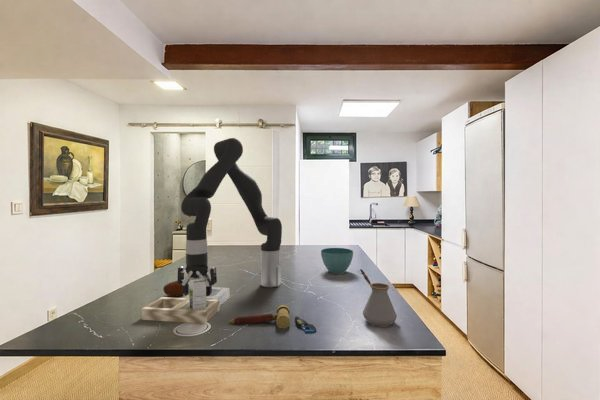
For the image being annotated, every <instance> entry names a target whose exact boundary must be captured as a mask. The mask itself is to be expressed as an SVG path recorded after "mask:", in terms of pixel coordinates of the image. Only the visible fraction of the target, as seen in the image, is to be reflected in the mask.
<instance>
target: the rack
mask: <svg viewBox="0 0 600 400" xmlns="http://www.w3.org/2000/svg"><path fill="white" fill-rule="evenodd" d="M140 310H141V312H140V313H141V321H142V320H143V321H158V322H173V323H174V322H175V323H189V324H202V325H203V324H205V325H206V324H207V323H208V322H209V321H210V320H211V319H212V318H213V317H214V316H215V315H216V314H217V313H218V312H220V306H219V300H211V299H206V308H205V309H204V310H189V298H186V297H172V296H170V297H168V296H166V297H165V296H161V297H159V298H157V299H156V300H154V301H152V302H151V303H148V304H147V305H145V306H143V307H142V308H141V309H140Z"/></svg>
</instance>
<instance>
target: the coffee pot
mask: <svg viewBox="0 0 600 400" xmlns="http://www.w3.org/2000/svg"><path fill="white" fill-rule="evenodd" d="M357 273H358V274H359V275H360V274H361V275H363V278H364V280H365V282H367V284H368V285H369V287H370V288H371V293H370V294H369V298H368V300H367V302H366V303H365V307H364V309H363V310H362V315H363V318H364V319H365V320H366V322H368V323H369V324H370V325H372V326H374V327H378V328H386V327H390V326H391V325H392V324H393V323H394V322H395V321H397V320H396V319H397V317H398V316H397V313H396V310H395V308H394V306H393V303H392V301H391V298H390V296H389V293H388V290H389V289H390V285H389V284H386V283H381V282H373V283H372V282H371V280H370V279H369V277H368V276H367V274H366V273H365V272H364V270H363V269H361V268H360V269H358V271H357Z"/></svg>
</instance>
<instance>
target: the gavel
mask: <svg viewBox="0 0 600 400" xmlns="http://www.w3.org/2000/svg"><path fill="white" fill-rule="evenodd" d="M273 321H276V326H277V328H278V329H288V327H289V326H290V324H291V318H290V309H289V307H288V305H286V304H281V305H279V306H277V309H276V313H263V314H253V315H243V316H237V317H235V318H233V319H230V320H229V324H235V325H244V324H245V325H246V324H247V325H248V324H257V323H258V324H259V323H268V322H273Z"/></svg>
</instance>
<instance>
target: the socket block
mask: <svg viewBox="0 0 600 400" xmlns="http://www.w3.org/2000/svg"><path fill="white" fill-rule="evenodd" d="M230 294H231V293H230V287H219V286H212V293H211V294H210V296H206V299H211V300H219V307H220V306H222V305H221V304H224V303H225V302H226V301H227V300H228V299H229V298H230ZM185 298H189V294H188V295H187V296H185Z"/></svg>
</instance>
